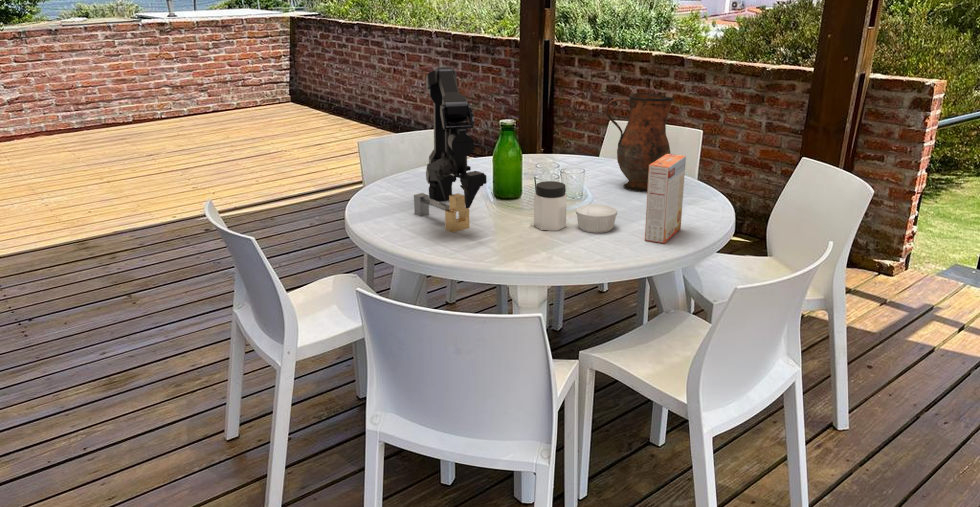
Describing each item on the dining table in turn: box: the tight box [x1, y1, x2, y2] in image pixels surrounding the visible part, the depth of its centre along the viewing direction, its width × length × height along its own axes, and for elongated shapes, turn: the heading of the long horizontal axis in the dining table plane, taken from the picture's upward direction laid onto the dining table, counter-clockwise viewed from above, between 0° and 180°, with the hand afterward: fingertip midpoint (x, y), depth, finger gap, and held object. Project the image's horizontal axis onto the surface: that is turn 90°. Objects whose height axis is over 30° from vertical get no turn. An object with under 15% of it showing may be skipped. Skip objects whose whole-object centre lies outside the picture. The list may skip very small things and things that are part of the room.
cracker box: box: [644, 153, 687, 244], centre depth 207 cm, size 14×6×21 cm, turn 149°
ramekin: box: [575, 204, 618, 234], centre depth 216 cm, size 11×11×5 cm
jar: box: [533, 180, 568, 232], centre depth 216 cm, size 9×8×12 cm
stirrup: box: [444, 193, 470, 233], centre depth 213 cm, size 6×3×10 cm, turn 130°
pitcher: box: [605, 92, 675, 193], centre depth 250 cm, size 17×21×30 cm
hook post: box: [413, 192, 450, 218], centre depth 222 cm, size 4×15×6 cm, turn 40°
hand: (457, 204), depth 212 cm, fingers open, 9 cm apart
